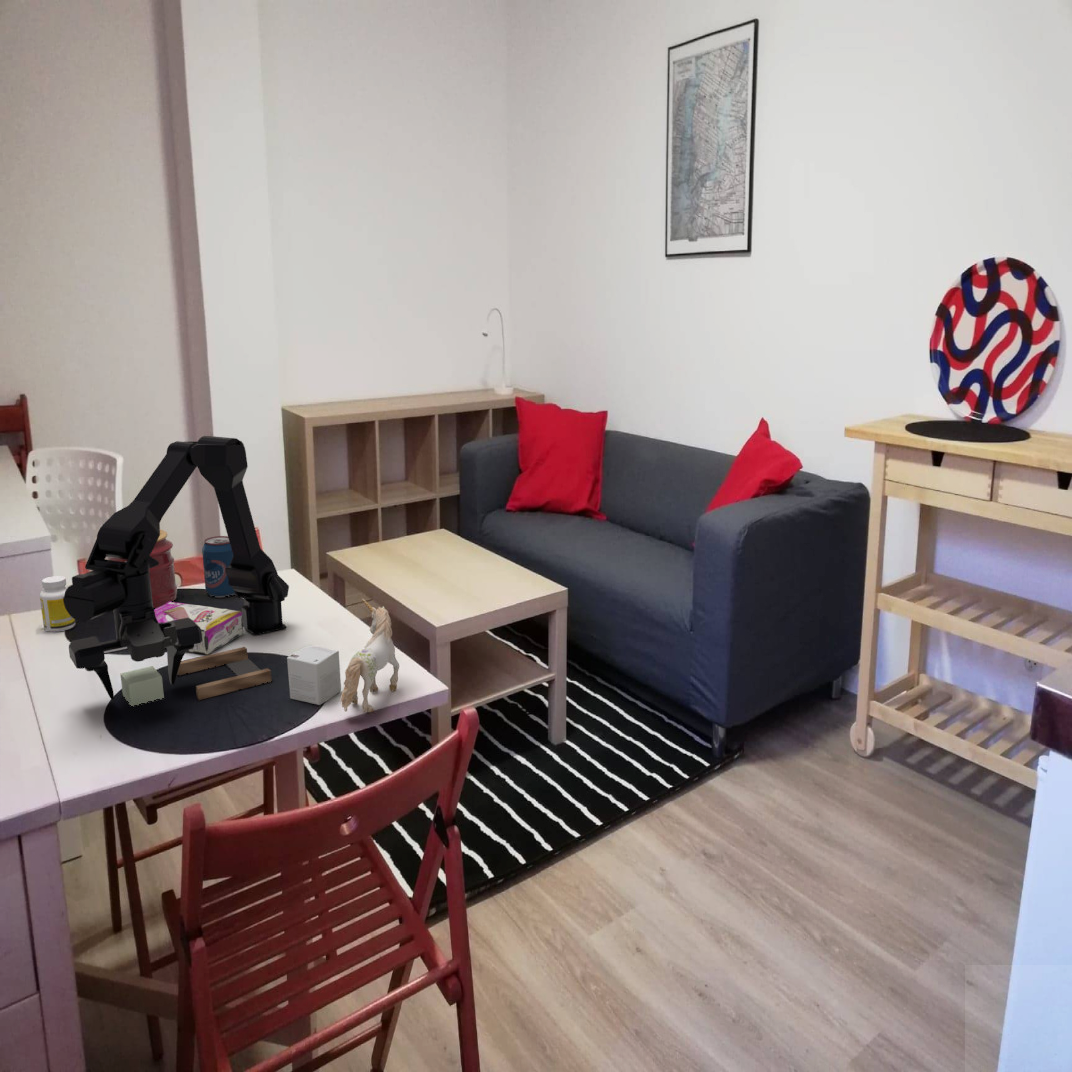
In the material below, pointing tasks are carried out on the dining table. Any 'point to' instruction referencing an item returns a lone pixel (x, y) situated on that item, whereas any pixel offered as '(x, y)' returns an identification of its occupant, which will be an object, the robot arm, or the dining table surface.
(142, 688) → the sage block
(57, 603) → the supplement bottle
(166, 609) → the candy bar box
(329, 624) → the dining table surface
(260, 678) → the channel
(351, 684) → the unicorn figurine
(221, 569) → the soda can
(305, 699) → the skincare box
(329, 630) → the dining table surface
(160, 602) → the canister
